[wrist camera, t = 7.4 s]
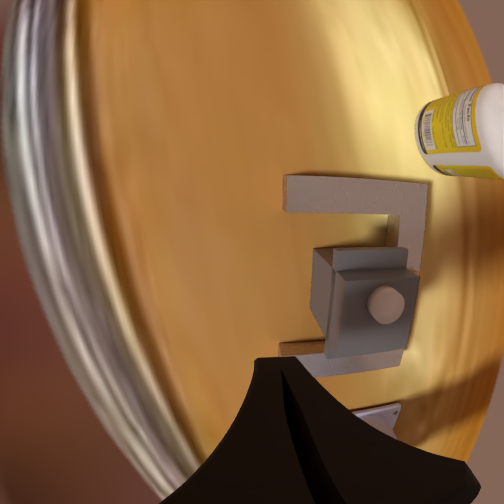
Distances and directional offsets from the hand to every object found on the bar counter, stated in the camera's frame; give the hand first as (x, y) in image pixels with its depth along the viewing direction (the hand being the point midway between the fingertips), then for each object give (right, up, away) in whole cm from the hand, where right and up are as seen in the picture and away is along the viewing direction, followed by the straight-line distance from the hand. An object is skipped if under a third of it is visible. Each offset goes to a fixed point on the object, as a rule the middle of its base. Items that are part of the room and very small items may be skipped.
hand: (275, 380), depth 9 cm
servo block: (+5, +3, +10) cm, 11 cm away
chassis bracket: (+6, +3, +10) cm, 11 cm away
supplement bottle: (+12, +12, +8) cm, 19 cm away
